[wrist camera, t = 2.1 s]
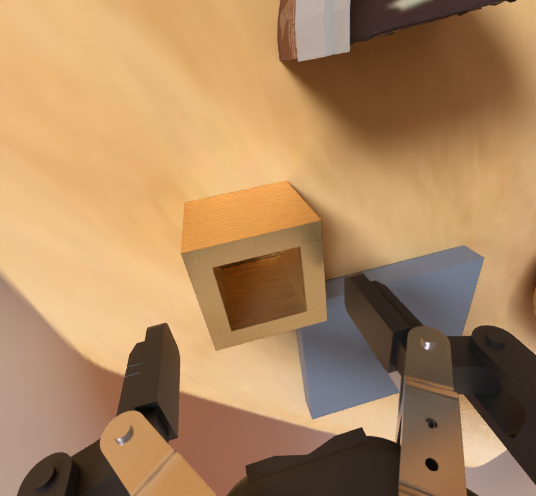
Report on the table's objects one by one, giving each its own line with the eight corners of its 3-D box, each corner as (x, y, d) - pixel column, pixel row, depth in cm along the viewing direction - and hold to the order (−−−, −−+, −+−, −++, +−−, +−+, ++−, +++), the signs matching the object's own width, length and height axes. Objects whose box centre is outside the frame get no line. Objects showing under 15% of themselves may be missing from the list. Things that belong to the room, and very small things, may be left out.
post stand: (464, 245, 25) (570, 311, 18) (436, 361, 32) (502, 438, 26) (290, 290, 23) (331, 382, 16) (305, 400, 31) (338, 494, 24)
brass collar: (286, 180, 19) (321, 220, 14) (296, 263, 22) (327, 320, 17) (184, 202, 18) (180, 253, 13) (210, 285, 21) (216, 350, 16)
